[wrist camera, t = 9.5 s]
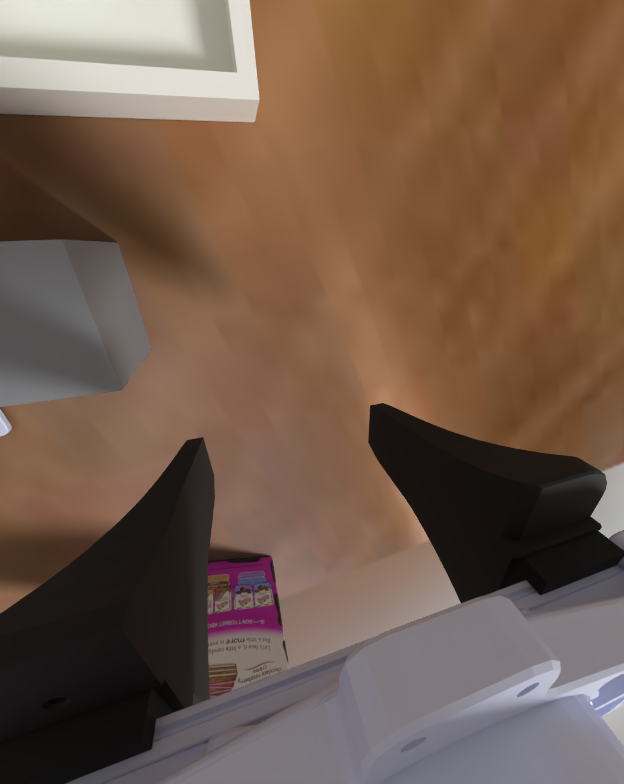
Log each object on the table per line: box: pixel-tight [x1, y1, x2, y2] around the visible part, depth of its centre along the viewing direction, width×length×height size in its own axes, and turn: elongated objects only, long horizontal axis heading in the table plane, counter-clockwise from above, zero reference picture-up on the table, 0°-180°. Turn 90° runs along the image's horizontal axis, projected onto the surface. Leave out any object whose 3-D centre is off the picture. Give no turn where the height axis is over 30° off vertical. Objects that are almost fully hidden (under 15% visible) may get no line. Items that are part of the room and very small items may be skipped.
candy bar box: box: [208, 557, 289, 699], centre depth 22 cm, size 11×5×16 cm, turn 75°
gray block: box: [0, 239, 152, 407], centre depth 13 cm, size 6×6×6 cm
